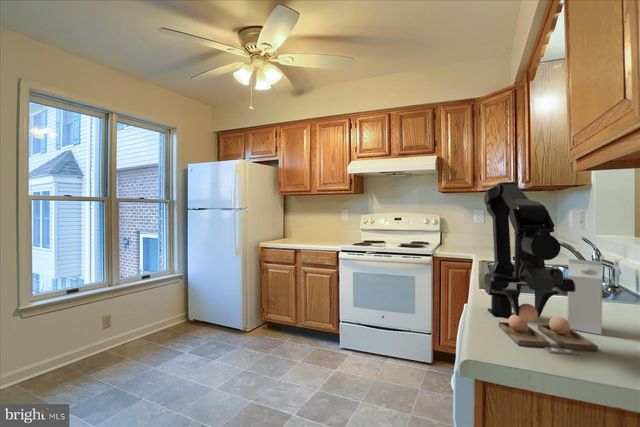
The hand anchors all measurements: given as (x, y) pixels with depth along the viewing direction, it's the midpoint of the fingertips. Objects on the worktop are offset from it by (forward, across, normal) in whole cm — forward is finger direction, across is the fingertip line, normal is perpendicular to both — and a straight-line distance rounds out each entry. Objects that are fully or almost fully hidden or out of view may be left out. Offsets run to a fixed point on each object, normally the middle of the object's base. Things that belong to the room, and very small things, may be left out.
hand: (527, 316), depth 81 cm
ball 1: (+4, 0, +5) cm, 6 cm away
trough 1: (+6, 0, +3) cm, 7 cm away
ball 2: (-1, 0, 0) cm, 1 cm away
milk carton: (+6, +20, +12) cm, 24 cm away
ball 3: (+4, +10, +5) cm, 12 cm away
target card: (+6, +5, -5) cm, 10 cm away
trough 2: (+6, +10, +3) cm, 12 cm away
